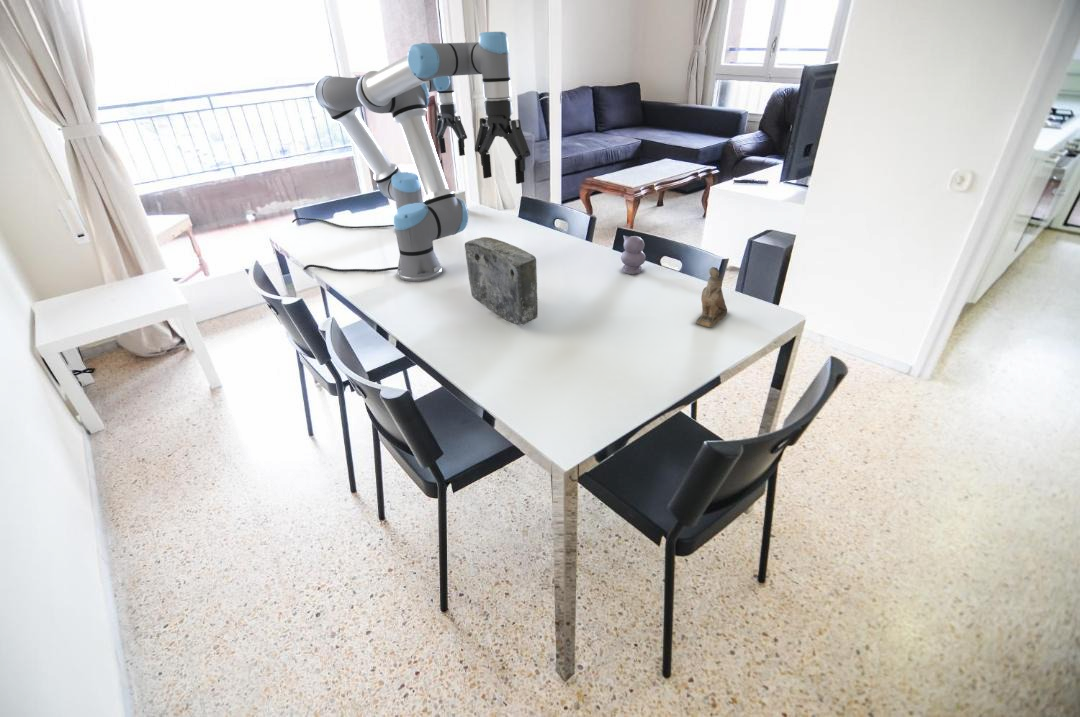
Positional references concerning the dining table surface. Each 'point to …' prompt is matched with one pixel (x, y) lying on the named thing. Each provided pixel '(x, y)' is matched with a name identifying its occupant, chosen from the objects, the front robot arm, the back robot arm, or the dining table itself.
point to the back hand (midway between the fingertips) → (452, 154)
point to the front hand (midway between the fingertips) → (503, 180)
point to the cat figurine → (633, 254)
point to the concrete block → (503, 279)
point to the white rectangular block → (461, 195)
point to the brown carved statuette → (712, 301)
